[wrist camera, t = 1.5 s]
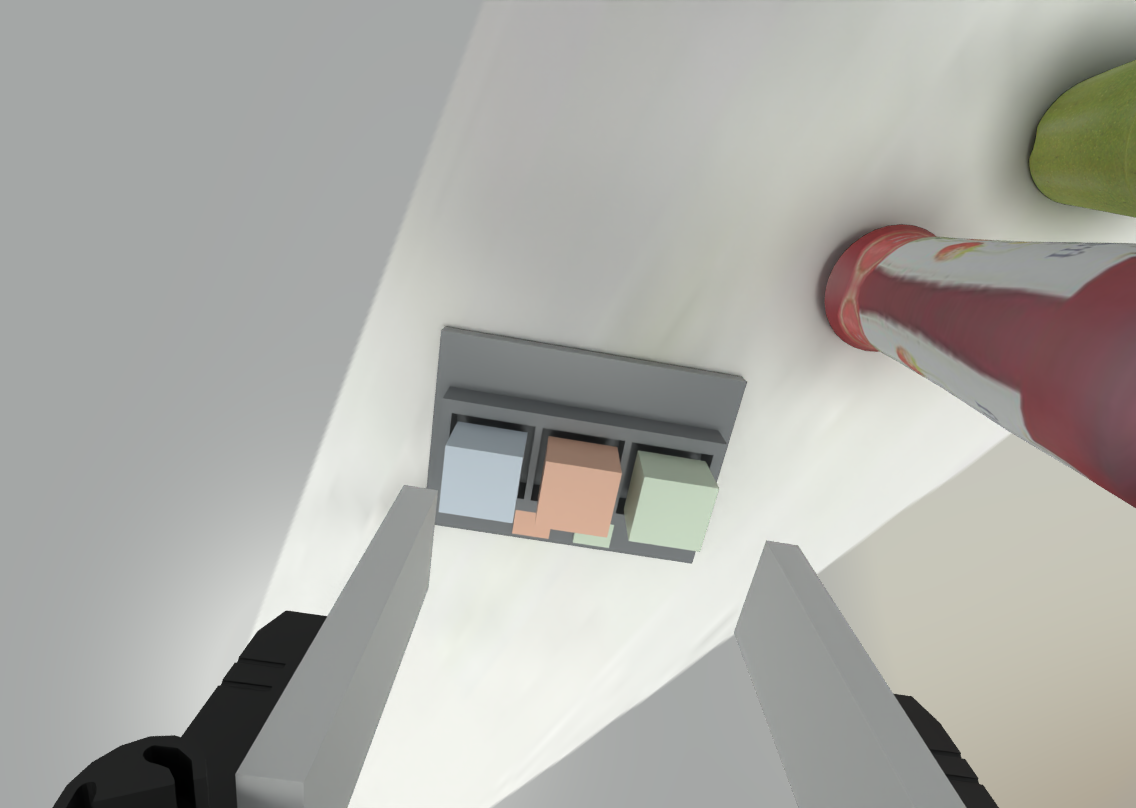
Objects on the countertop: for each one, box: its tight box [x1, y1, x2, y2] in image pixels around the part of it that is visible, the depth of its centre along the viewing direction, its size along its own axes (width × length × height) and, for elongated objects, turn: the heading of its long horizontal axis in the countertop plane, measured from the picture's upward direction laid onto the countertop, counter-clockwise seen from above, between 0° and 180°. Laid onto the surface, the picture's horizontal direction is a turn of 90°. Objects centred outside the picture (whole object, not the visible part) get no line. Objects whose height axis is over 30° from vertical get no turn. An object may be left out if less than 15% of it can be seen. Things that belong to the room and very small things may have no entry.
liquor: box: [825, 224, 1136, 508], centre depth 18 cm, size 7×7×28 cm
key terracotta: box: [534, 436, 622, 538], centre depth 31 cm, size 4×4×3 cm
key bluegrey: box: [439, 421, 528, 523], centre depth 30 cm, size 4×4×3 cm
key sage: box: [624, 450, 719, 552], centre depth 31 cm, size 4×4×3 cm
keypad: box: [427, 327, 747, 563], centre depth 34 cm, size 13×18×3 cm
